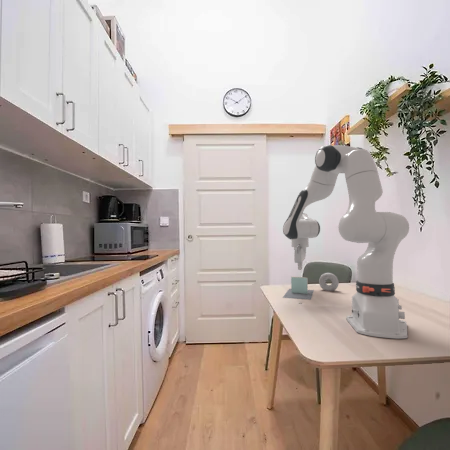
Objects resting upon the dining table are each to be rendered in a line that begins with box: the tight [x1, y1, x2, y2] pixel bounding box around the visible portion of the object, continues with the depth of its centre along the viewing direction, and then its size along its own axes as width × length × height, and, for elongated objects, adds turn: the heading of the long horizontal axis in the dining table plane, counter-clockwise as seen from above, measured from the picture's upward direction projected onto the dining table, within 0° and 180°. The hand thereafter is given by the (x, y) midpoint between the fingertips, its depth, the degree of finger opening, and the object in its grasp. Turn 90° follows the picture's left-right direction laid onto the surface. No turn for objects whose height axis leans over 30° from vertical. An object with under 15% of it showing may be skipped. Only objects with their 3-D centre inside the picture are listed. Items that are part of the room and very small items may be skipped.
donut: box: [318, 272, 340, 292], centre depth 150 cm, size 10×4×10 cm, turn 60°
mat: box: [282, 288, 315, 301], centre depth 142 cm, size 22×13×1 cm, turn 159°
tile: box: [290, 276, 309, 294], centre depth 144 cm, size 2×8×8 cm, turn 69°
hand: (300, 269), depth 150 cm, fingers closed
